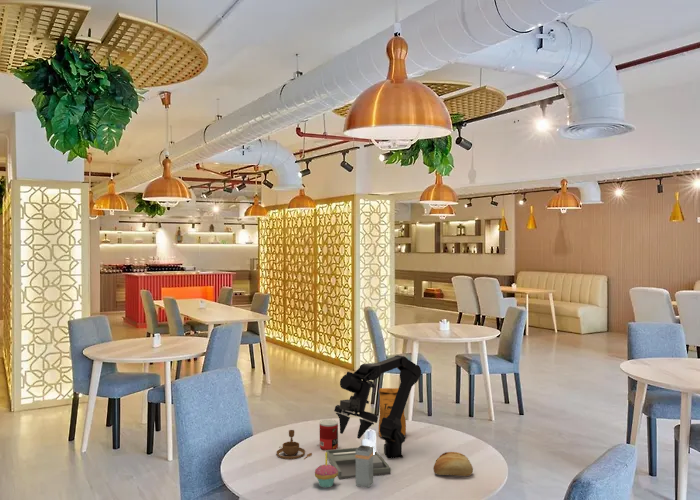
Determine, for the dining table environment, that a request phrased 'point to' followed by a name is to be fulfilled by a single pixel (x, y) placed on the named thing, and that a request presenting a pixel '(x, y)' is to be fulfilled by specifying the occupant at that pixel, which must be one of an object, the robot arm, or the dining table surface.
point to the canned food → (328, 434)
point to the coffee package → (389, 406)
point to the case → (354, 463)
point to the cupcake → (326, 474)
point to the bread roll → (453, 464)
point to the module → (364, 466)
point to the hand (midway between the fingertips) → (349, 436)
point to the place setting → (291, 449)
